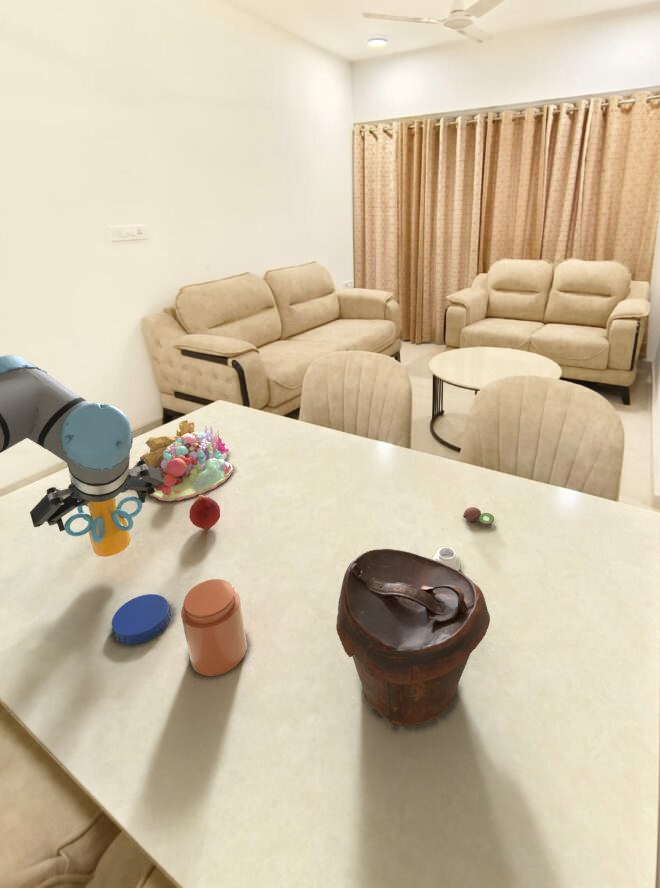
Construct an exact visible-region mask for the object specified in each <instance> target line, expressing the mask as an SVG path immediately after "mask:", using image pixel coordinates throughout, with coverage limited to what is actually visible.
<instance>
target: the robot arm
mask: <svg viewBox="0 0 660 888" xmlns="http://www.w3.org/2000/svg"><path fill="white" fill-rule="evenodd" d="M131 428H132V427H131V423H130V421H129V419H128V417H127V415H126V414H125V413H124V412H123V411H121V410H120V408H118V407H115V406H114V405H111V404H106V403H100V402H90V401H89V400H87V399H85V398H84V397H82V396H81V395H79V394H78V393H76V392H74V391H73V390H72V389H70V388H69V387H67V386H66V385H65V384H63V383H61V382H60V381H59V380H57V379H56V378H54V377H53V376H52V375H50V374H49V373H48V372H47V371H46V370H45V369H43V368H40V367H38V366H36V365H34V364H33V363H32V362H29V361H27V360H25V358H23V357H20V356H18V355H14V354H9V355H8V354H6V355H1V356H0V454H1V453H3V452H5V451H7V450H8V449H11V448H12V447H14V446H15V445H17V444H19V443H21V442H23V441H24V440H26V439H28V440H30V441H32V443H34V444H36V445H38V446H39V447H41V448H43V449H44V450H47V451H49V452H50V453H51V454H53V455H54V456H56V457H57V458H59V459H60V460H62V461H63V462H64V463H66V466H67V469H68V473H69V479H70V483H69V484H68V486H67V488H64V489H61V488H57V487H56V486H53V487H52V486H51V487H49V488H47V489H46V494H45V495H44V496H43V497H42V498H41V499H40V500H39V502H38V503H37V504H36V505H35V506H34V507H33V508H32V509H31V510H30V511H29V514H30V518H31V522H32V525H33V527H34V528H39V527H41V526H43V525H44V524H45V523H47V525H48V526H50V527H51V526H54V525H57V527H58V530H59V532H63V531H65V524H64V522H63V517H64V516H66V515H67V514H69V513H71V512H73V510H75V509H77V507H79V506H82V507H84V506H85V505H86V504H87V503H89V502H90V501H91V502H103V501H107V500H110V499H112V498H114V497H115V498H116V497H117V496H119V495H120V494H123V493H126V492H127V491H135V492H136V495H137V498H139V499H140V500H141V502H142V504H145V503H146V499H147V494H148V495H150V494H153V493H154V492H155V490H154V487H153V486H154V485H157V486H161V485H163V484H164V480H163V477H162V474H161V472H160V470H158V469H156V468H153V467H151V466H149V465H147V464H146V462H145V460H140V459H139V460H138V461H139V462H138V461H136V462H137V465H136V464H135V465H134V466H133V467H135V468H133V467H131V468H130V457H131V454H130V452H131V449H132V448H133V442H134V441H133V440H134V438H133V434H132V429H131Z"/></svg>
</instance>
